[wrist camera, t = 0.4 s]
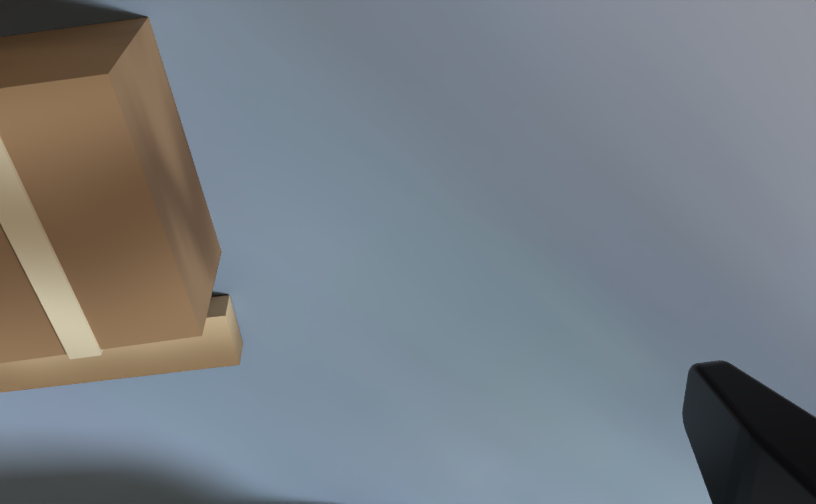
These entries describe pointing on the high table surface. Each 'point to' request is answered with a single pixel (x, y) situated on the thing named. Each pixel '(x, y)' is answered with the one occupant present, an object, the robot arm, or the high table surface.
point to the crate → (97, 197)
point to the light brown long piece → (136, 356)
